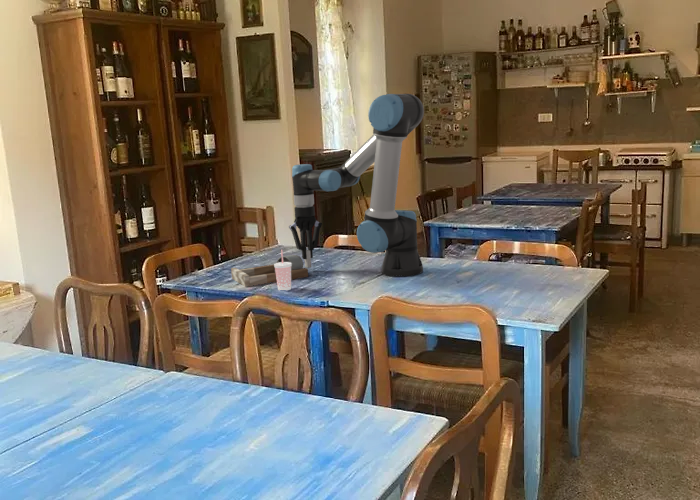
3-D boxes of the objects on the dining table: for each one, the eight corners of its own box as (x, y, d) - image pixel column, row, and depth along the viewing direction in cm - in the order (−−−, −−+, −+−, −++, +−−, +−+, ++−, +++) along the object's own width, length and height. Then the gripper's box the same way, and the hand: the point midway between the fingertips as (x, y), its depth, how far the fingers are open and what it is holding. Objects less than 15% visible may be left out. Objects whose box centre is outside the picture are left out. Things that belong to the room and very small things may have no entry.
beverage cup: (290, 291, 244) (287, 251, 242) (273, 291, 246) (270, 251, 243) (295, 286, 250) (292, 247, 248) (278, 286, 251) (275, 247, 249)
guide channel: (308, 276, 264) (307, 266, 264) (245, 286, 254) (244, 275, 253) (292, 269, 279) (291, 259, 278) (232, 278, 268) (231, 268, 268)
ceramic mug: (305, 273, 270) (304, 253, 269) (292, 277, 263) (290, 257, 262) (283, 271, 276) (281, 252, 275) (270, 275, 269) (268, 255, 268)
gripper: (316, 203, 274) (319, 263, 279) (284, 206, 269) (288, 267, 274) (324, 204, 268) (327, 266, 272) (291, 208, 262) (295, 271, 267)
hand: (308, 266), depth 273 cm, fingers closed
